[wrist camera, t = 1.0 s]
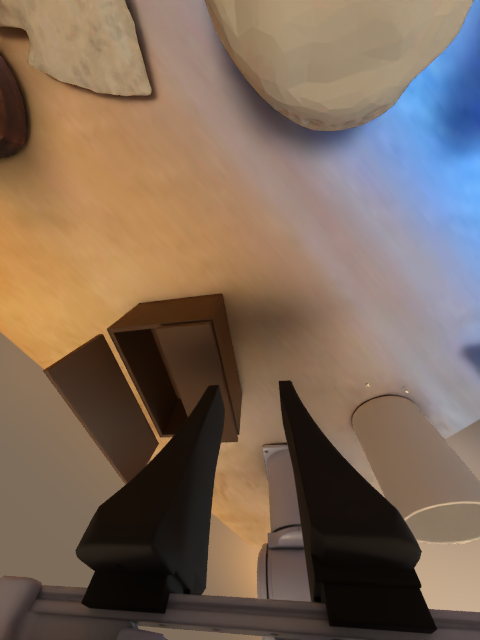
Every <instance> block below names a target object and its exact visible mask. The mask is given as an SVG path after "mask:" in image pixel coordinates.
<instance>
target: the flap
mask: <svg viewBox="0 0 480 640" xmlns="http://www.w3.org/2000/svg"><path fill="white" fill-rule="evenodd" d="M43 371H44V373H45V374H46V376H47V377H48V378H49V380H50V381H51V383H52V384H53V385H54V387H55V388H56V389H57V391H58V392H59V394H60V395H61V396H62V397H63V399H64V400H65V402H66V403H67V405H68V406H69V407H70V409H71V410H72V411H73V413H74V414H75V416H76V417H77V418H78V420H79V421H80V422H81V424H82V425H83V427H85V429H86V430H87V432H88V433H89V435H90V436H91V438H92V439H93V440H94V442H95V443H96V444H97V446H98V447H99V448H100V450H101V451H102V453H103V454H104V455H105V456H106V458H107V459H108V461H109V462H110V464H111V465H112V466H113V468H114V469H115V471H116V472H117V473H118V475H119V476H120V477H121V479H122V480H123V482H124V483H125V484H127V483H128V482H129V481H131V480H132V479H133V478H134V477H135V476H136V475H137V474H138V473H139V472H140V471H141V470H142V469H143V468H145V467H146V465H147V463H148V461H149V460H150V458H151V456H152V455H153V453H154V451H155V449H156V448H157V446H158V444H159V443H158V441H157V439H156V437H155V435H154V433H153V431H152V429H151V427H150V425H149V423H148V422H147V420H146V418H145V416H144V414H143V412H142V410H141V408H140V406H139V404H138V402H137V400H136V398H135V396H134V394H133V392H132V390H131V388H130V386H129V384H128V382H127V380H126V379H125V377H124V375H123V373H122V371H121V369H120V367H119V365H118V363H117V361H116V359H115V357H114V355H113V353H112V351H111V349H110V347H109V345H108V343H107V341H106V339H105V337H104V335H103V334H99V335H97V336H96V337H94V338H92V339H91V340H89V341H88V342H86V343H85V344H83V345H82V346H80V347H79V348H77V349H76V350H74V351H72V352H71V353H69V354H68V355H66V356H65V357H63V358H62V359H60V360H59V361H57V362H56V363H54V364H52V365H51V366H49V367H48V368H46V369H45V370H43Z"/></svg>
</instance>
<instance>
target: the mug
mask: <svg viewBox="0 0 480 640" xmlns="http://www.w3.org/2000/svg"><path fill="white" fill-rule="evenodd" d="M352 426H353V428H354V430H355V432H356V435H357V437H358V439H359V441H360V443H361V445H362V448H363V450H364V452H365V454H366V456H367V459H368V461H369V463H370V465H371V467H372V470H373V472H374V474H375V476H376V478H377V480H378V483H379V485H380V487H381V489H382V491H383V494H384V496H385V498H386V499H387V500H388V501H389V502H390V503H391V504H392V505H393V506H394V507H396V508H397V510H398V511H399V513H400V514H401V516H402V517H403V519H404V520H405V522H406V523H407V525H408V527H409V528H410V530H411V532H412V533H413V535H414V537H415V538H416V540H417V541H419V542H423V543H431V544H453V543H456V544H465V543H467V542H469V541H473V540H477V539H480V481H479V480H478V479H477V478H476V476H475V475H474V474H473V473H472V472H471V471H470V469H469V468H468V467H467V466H466V464H465V463H464V462H463V461H462V460H461V458H460V457H459V456H458V455H457V454H456V453H455V451H454V450H453V449H452V448H451V447H450V445H449V444H448V443H447V442H446V440H445V439H444V438H443V437H442V436H441V435H440V433H439V432H438V431H437V430H436V429H435V427H434V426H433V425H432V424H431V423H430V421H429V420H428V419H427V418H426V417H425V415H424V414H423V413H422V412H421V411H420V409H419V408H418V407H417V406H416V405H415V403H413V402H412V401H410V400H408V399H406V398H403V397H399V396H384V397H379V398H375V399H372V400H370V401H368V402H366V403H364V404H363V405H361V406H360V407H359V408H358V409H357V410H356V411H355V413H354V415H353V417H352Z"/></svg>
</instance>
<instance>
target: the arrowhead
mask: <svg viewBox="0 0 480 640" xmlns="http://www.w3.org/2000/svg"><path fill="white" fill-rule="evenodd" d="M2 26H4V27H15V28H22V29H24V30H25V31H26V32H27V34H28V37H29V39H30V49H29V55H28V62H29V65H31V66H32V67H34V68H36V69H37V70H40V71H43V72H45V73H47V74H49V75H51V76H53V77H54V78H56V79H57V80H59V81H61V82H65V83H69V84H74V85H77V86H80V87H82V88H88V89H90V90H92V91H94V92H98V93H110V94H113V95H122V96H131V95H144V96H147V95H150V94H151V86H150V83H149V80H148V77H147V73H146V69H145V65H144V62H143V58H142V53H141V51H140V48H139V45H138V40H137V36H136V31H135V24H134V21H133V19H132V17H131V14H130V12H129V10H128V8H127V5H126V2H125V0H0V27H2Z"/></svg>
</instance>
